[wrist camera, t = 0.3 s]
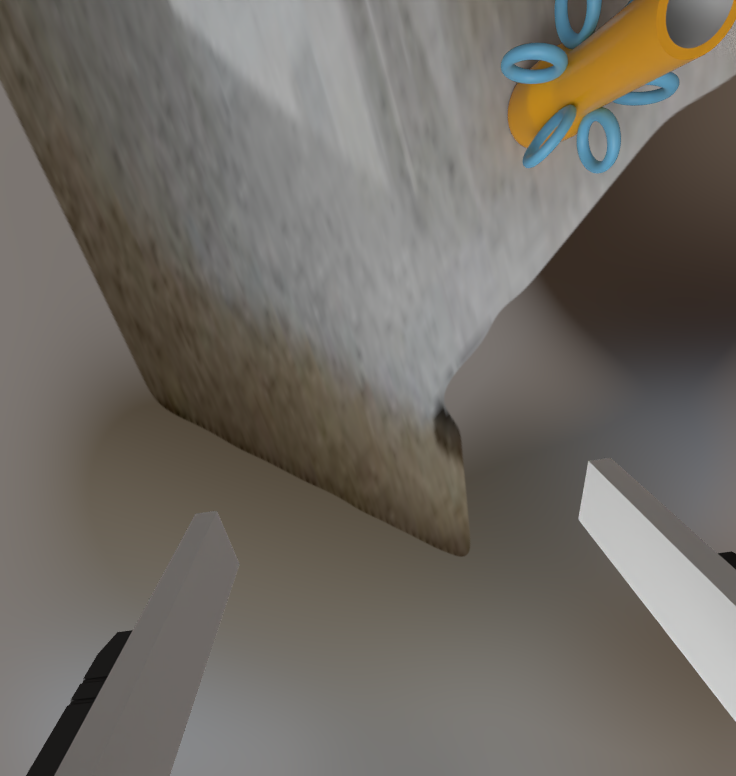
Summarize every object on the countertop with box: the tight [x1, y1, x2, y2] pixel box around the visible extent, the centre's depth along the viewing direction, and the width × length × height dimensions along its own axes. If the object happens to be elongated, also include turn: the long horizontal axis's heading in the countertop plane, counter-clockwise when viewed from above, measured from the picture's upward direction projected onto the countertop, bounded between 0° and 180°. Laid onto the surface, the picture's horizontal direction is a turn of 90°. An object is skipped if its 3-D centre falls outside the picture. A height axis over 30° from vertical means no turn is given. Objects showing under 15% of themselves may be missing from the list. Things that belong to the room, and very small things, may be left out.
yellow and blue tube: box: [501, 0, 736, 173], centre depth 23 cm, size 12×10×15 cm
